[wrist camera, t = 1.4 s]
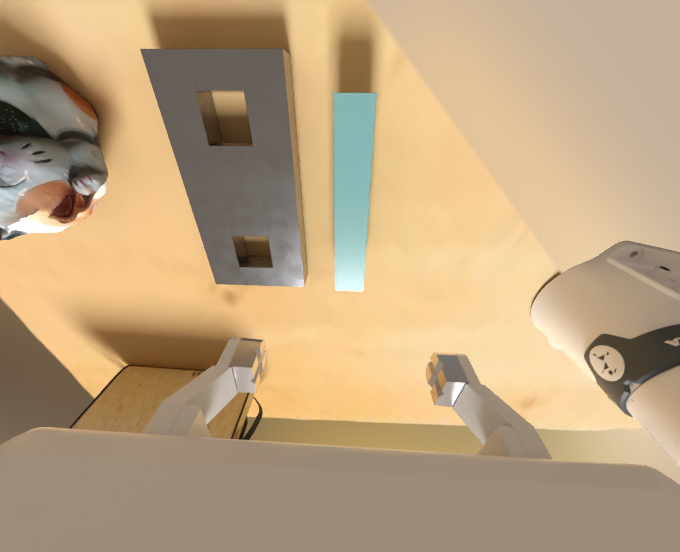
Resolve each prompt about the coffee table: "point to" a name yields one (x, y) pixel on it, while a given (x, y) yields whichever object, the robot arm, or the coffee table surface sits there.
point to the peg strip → (352, 185)
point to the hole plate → (236, 158)
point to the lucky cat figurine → (45, 151)
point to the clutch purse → (157, 403)
